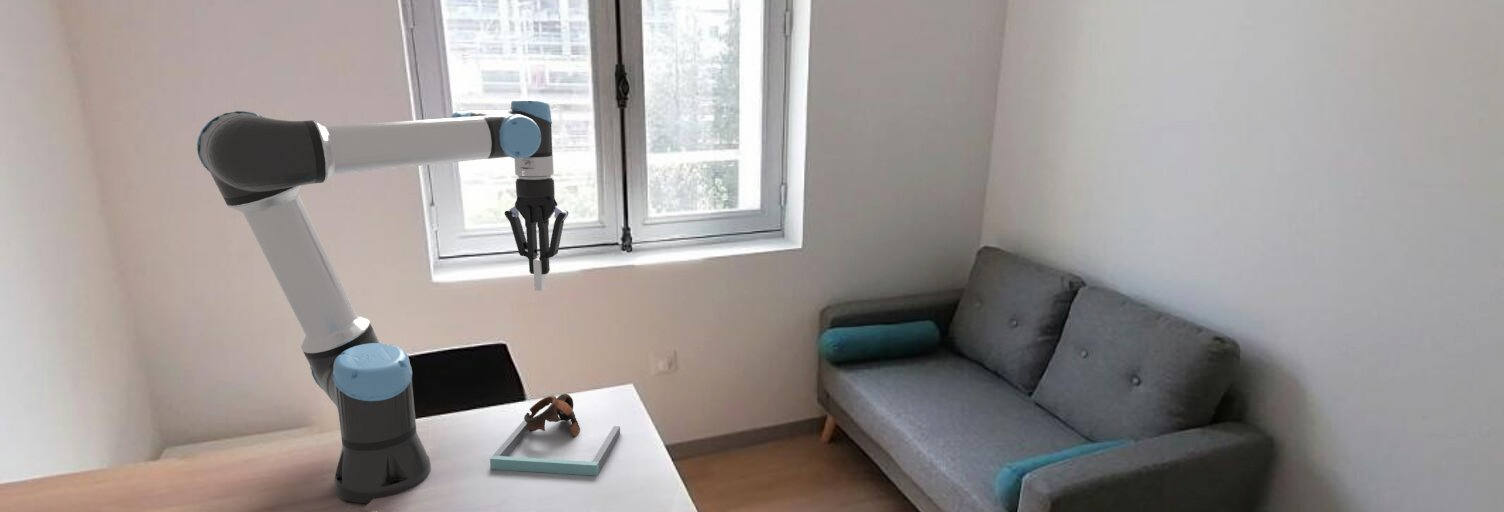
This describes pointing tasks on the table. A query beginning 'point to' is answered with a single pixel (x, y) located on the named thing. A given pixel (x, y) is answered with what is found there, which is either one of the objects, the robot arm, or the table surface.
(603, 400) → the table surface
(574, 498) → the table surface
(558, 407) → the brown curved openwork piece
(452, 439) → the table surface
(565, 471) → the bay
